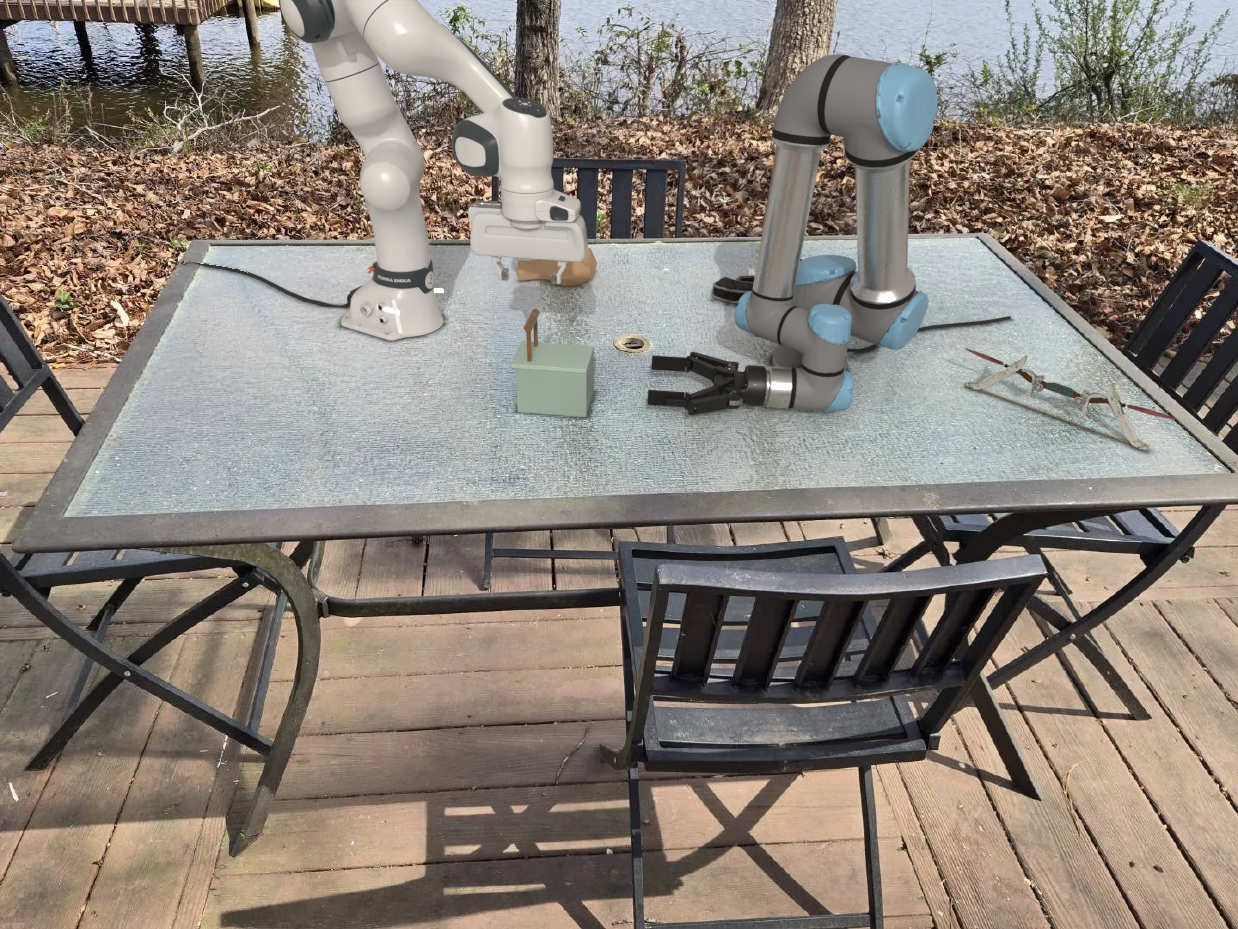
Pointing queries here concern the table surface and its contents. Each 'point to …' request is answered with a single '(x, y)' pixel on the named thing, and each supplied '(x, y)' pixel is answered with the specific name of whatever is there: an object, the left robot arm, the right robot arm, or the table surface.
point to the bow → (1079, 399)
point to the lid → (550, 352)
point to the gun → (732, 288)
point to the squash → (570, 276)
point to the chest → (555, 391)
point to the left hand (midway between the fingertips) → (530, 281)
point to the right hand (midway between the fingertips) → (649, 379)
